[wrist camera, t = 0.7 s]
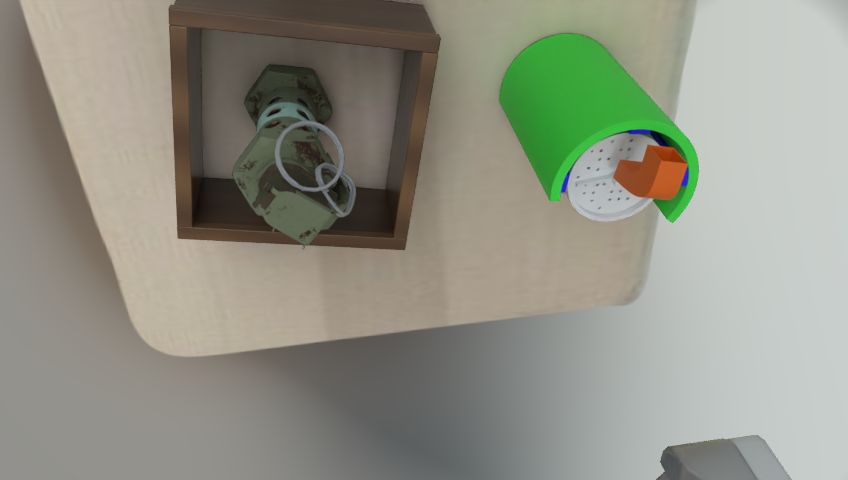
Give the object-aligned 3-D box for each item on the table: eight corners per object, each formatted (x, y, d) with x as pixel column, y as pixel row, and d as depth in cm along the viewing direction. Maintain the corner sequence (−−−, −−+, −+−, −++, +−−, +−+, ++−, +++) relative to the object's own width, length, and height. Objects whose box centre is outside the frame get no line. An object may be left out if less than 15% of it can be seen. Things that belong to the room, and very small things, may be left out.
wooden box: (185, -26, 46) (168, 7, 41) (425, 3, 50) (441, 37, 44) (191, 186, 55) (177, 238, 49) (395, 199, 58) (405, 250, 52)
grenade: (311, 160, 55) (313, 279, 43) (234, 112, 52) (212, 226, 40) (369, 87, 52) (389, 191, 40) (291, 32, 49) (287, 127, 37)
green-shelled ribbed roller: (495, 136, 56) (563, 276, 41) (504, 34, 52) (583, 151, 37) (608, 131, 57) (712, 266, 43) (626, 31, 53) (750, 143, 38)
